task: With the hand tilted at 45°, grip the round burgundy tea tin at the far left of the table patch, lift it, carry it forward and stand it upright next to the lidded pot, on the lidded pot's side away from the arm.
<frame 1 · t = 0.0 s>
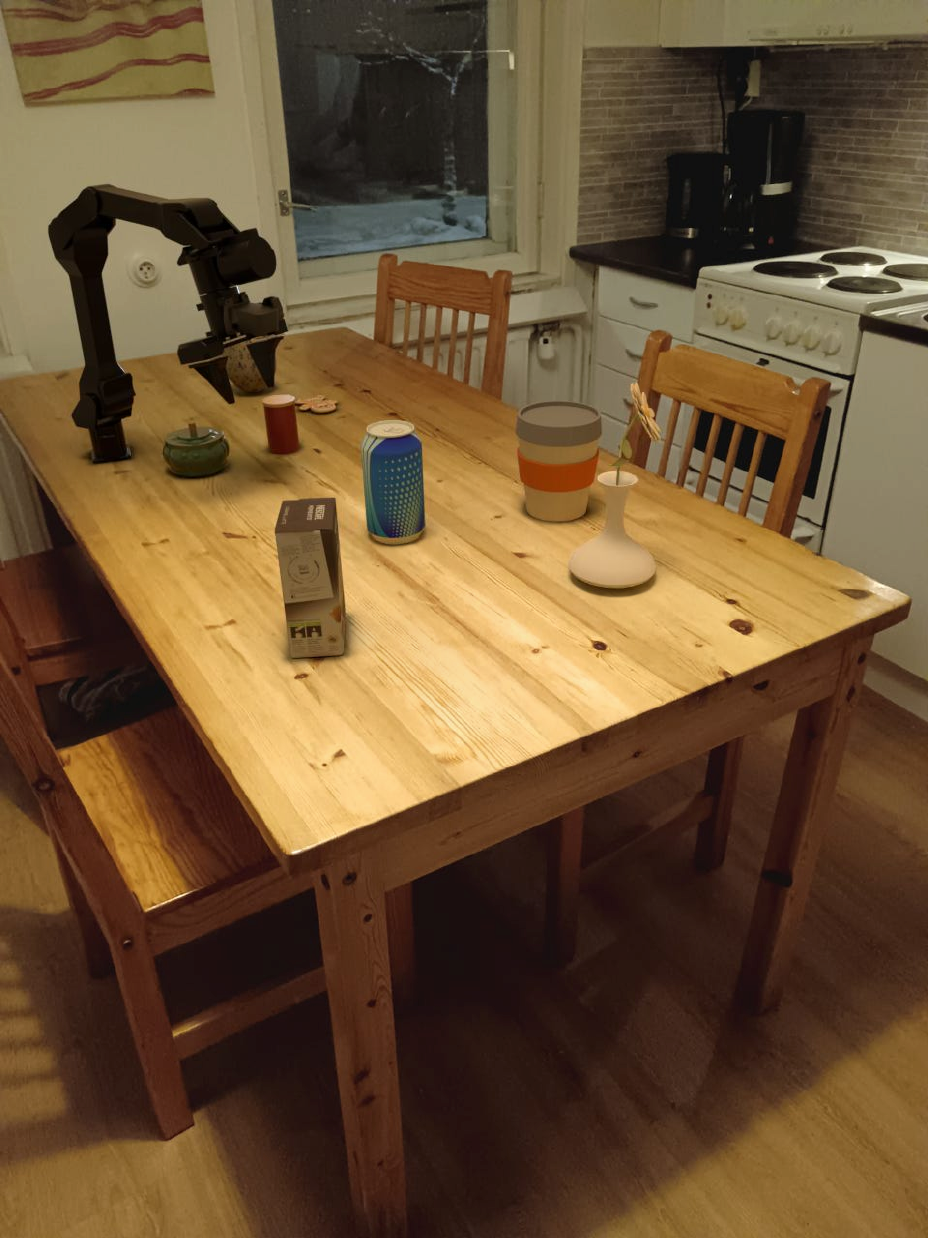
hand: (252, 395, 147), 15 cm above the table, tool pointing down, fingers open, 9 cm apart
cookie: (317, 407, 191), on the table
reusable coffee cup: (556, 510, 146), on the table
tea canister: (284, 448, 171), on the table
coffee box: (319, 638, 115), on the table
lidded pot: (199, 468, 163), on the table
beer can: (396, 535, 139), on the table
flower in vase: (613, 575, 127), on the table
decorative egg: (253, 392, 201), on the table
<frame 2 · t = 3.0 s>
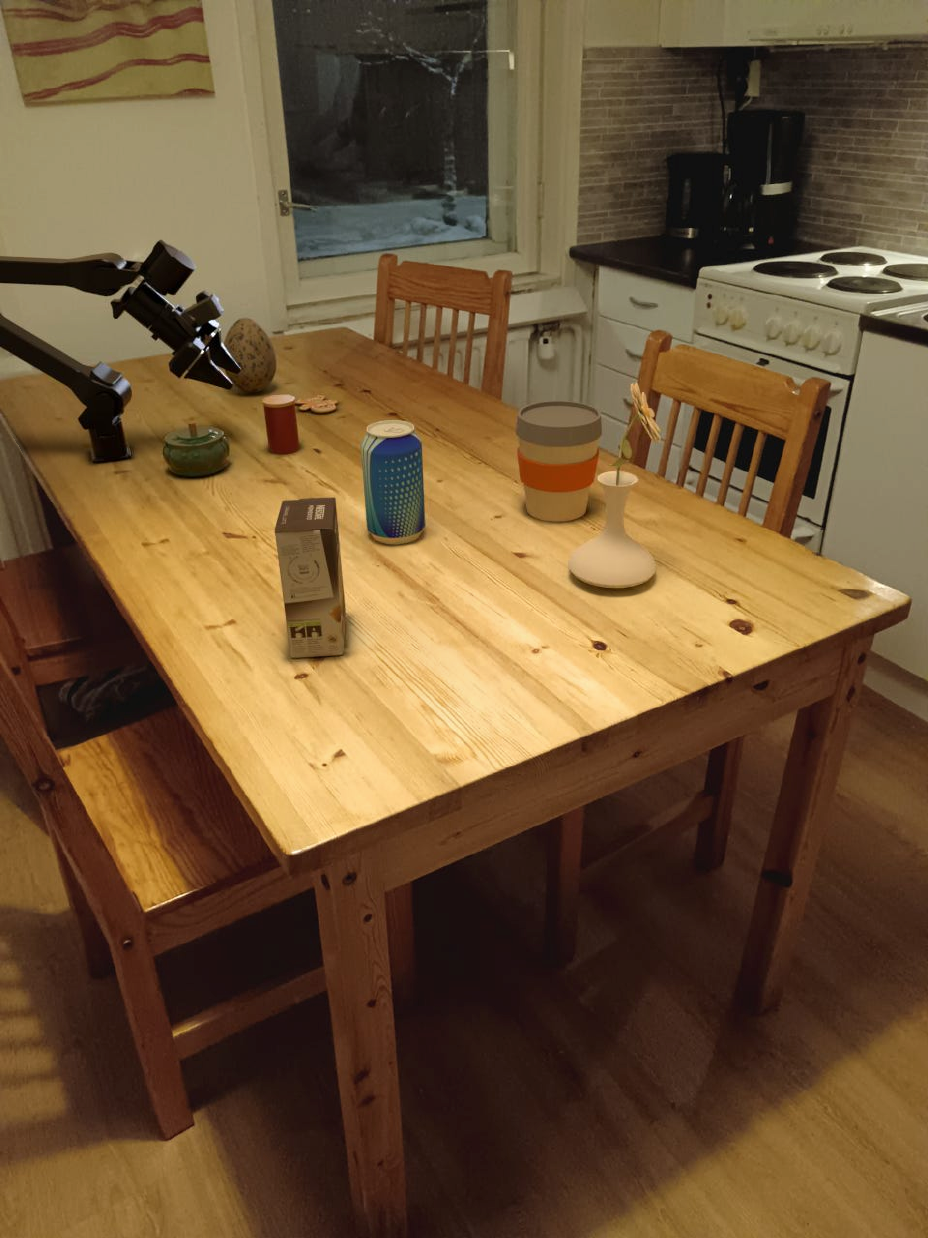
hand: (235, 379, 164), 13 cm above the table, tool tilted 45°, fingers open, 9 cm apart
nothing on the table moved.
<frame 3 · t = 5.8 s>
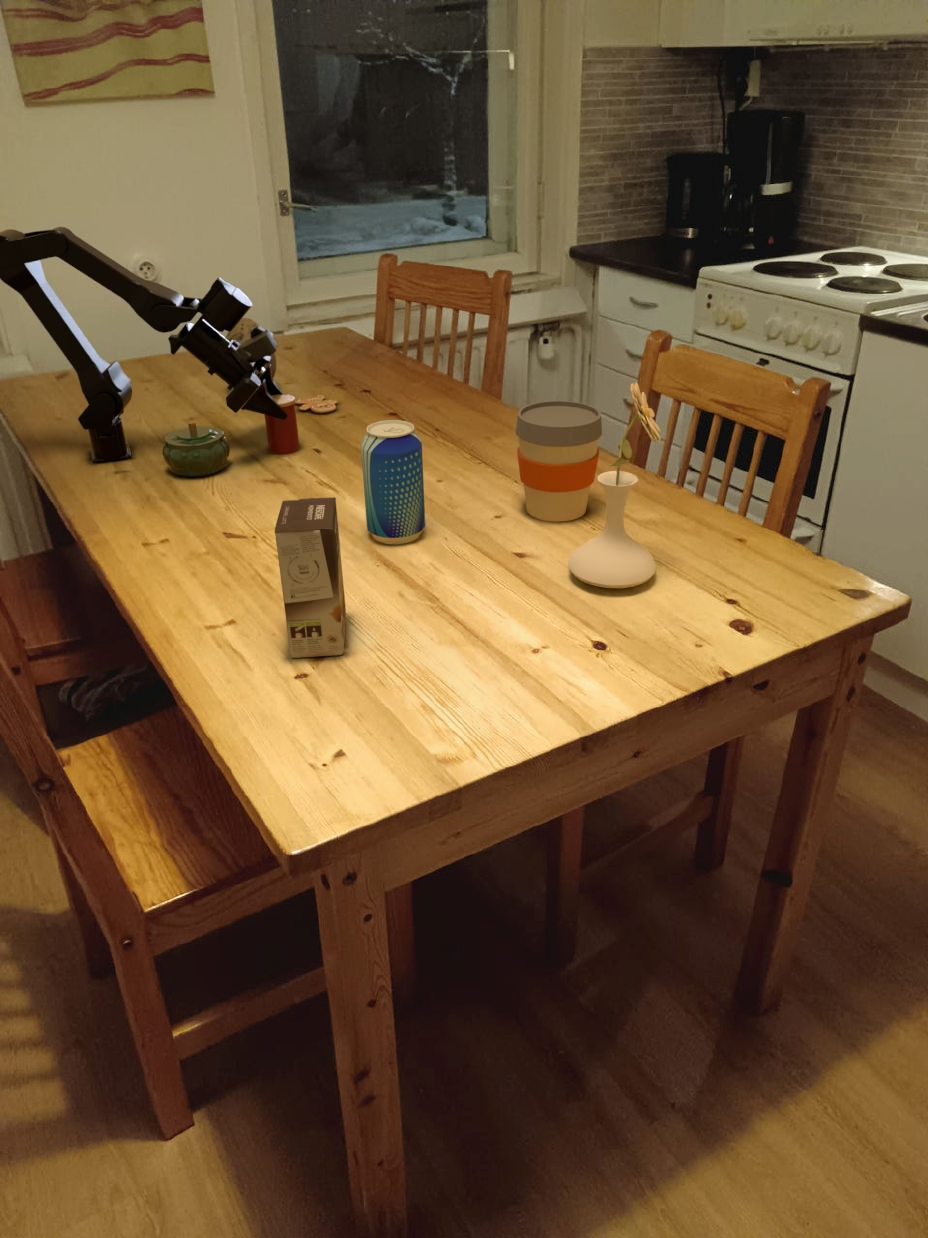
hand: (287, 412, 167), 7 cm above the table, tool tilted 45°, fingers closed on tea canister, 5 cm apart
tea canister: (284, 448, 171), on the table, touching gripper
everything else where it was.
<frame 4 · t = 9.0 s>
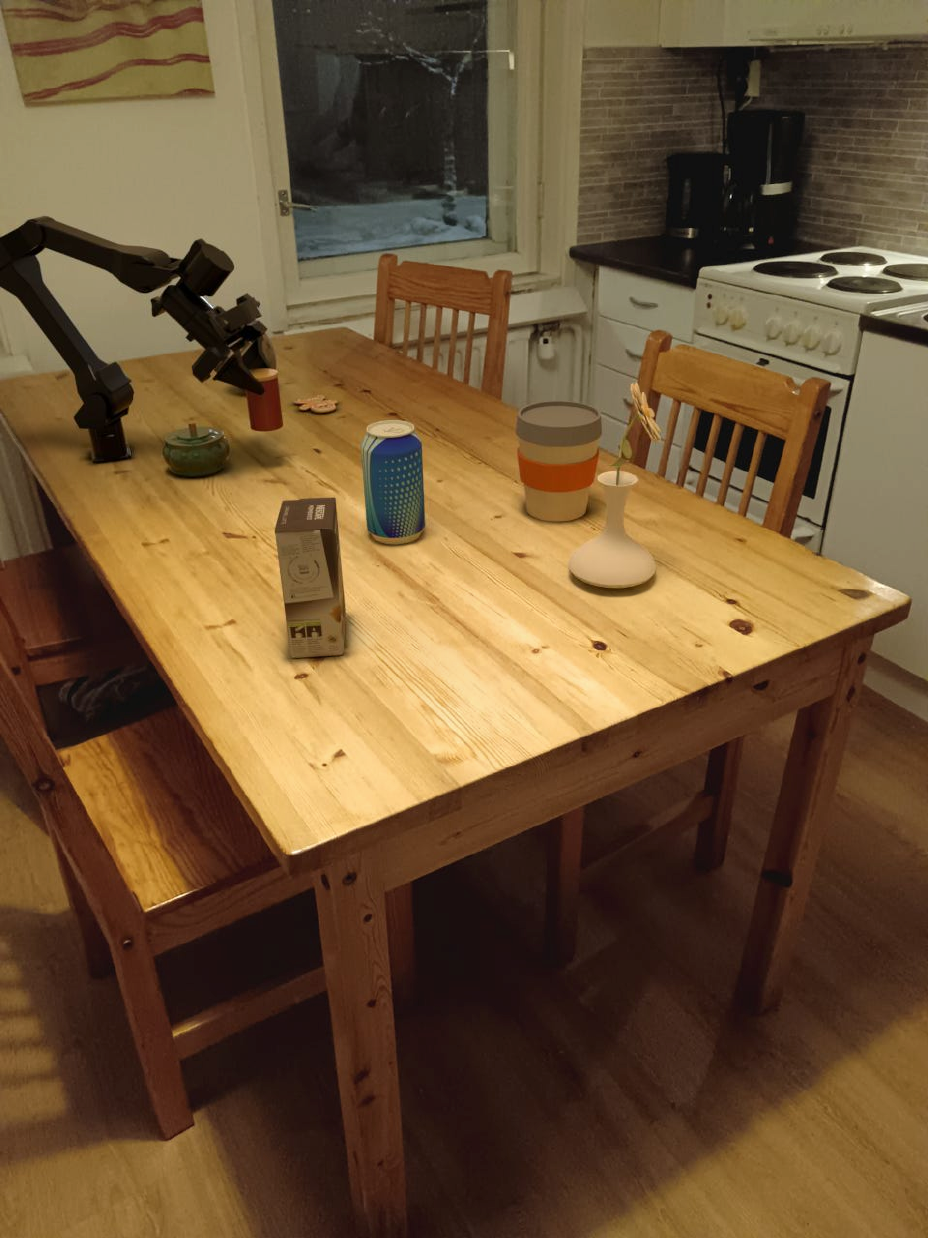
hand: (270, 387, 157), 13 cm above the table, tool tilted 45°, fingers closed on tea canister, 5 cm apart
tea canister: (267, 426, 160), point 7 cm above the table, touching gripper
everything else where it was.
when the fingers open (7 cm above the table, at t = 12.4 s): tea canister stays where it is, on the table.
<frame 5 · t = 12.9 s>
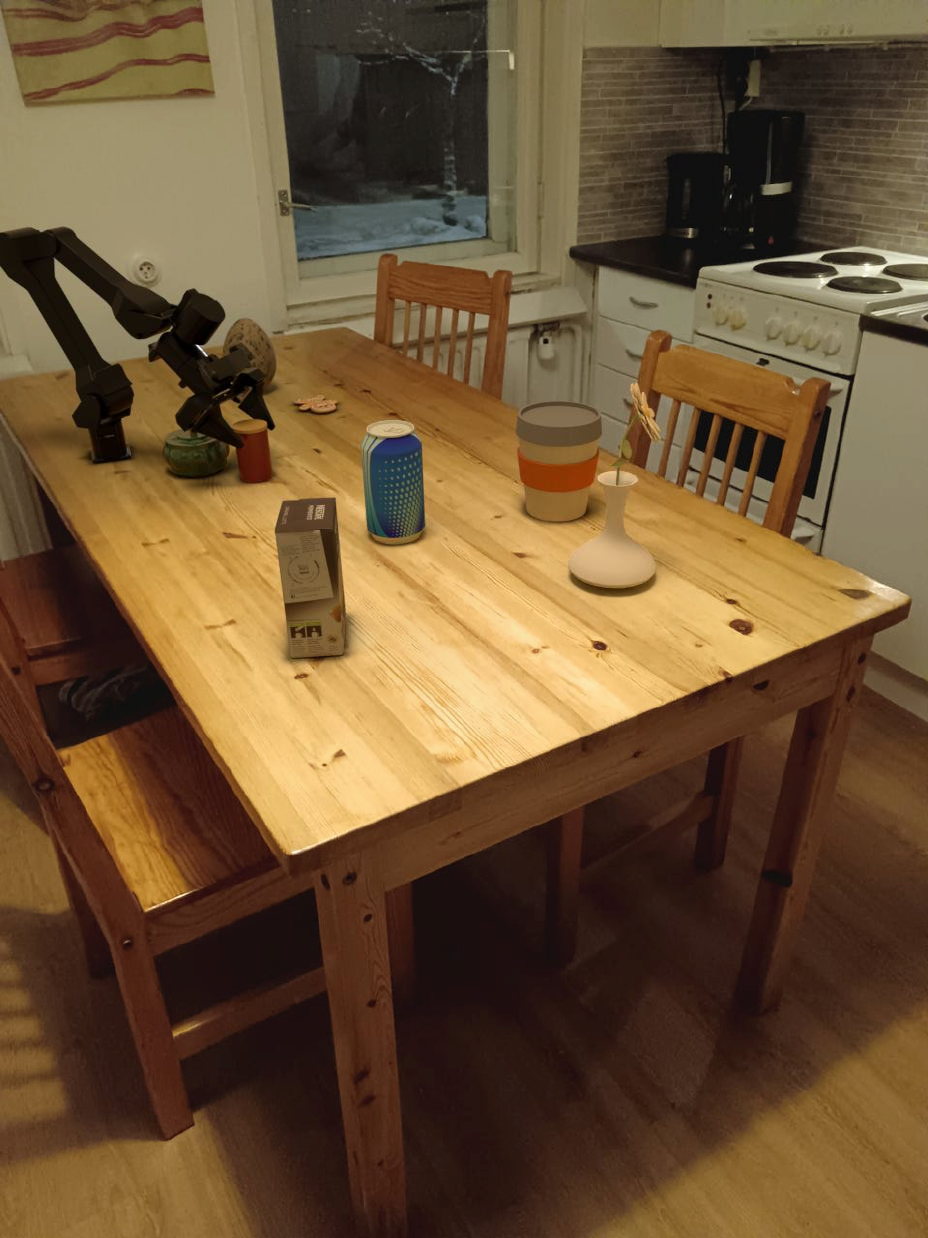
hand: (258, 437, 155), 7 cm above the table, tool tilted 45°, fingers open, 9 cm apart
tea canister: (256, 476, 159), on the table
everything else where it was.
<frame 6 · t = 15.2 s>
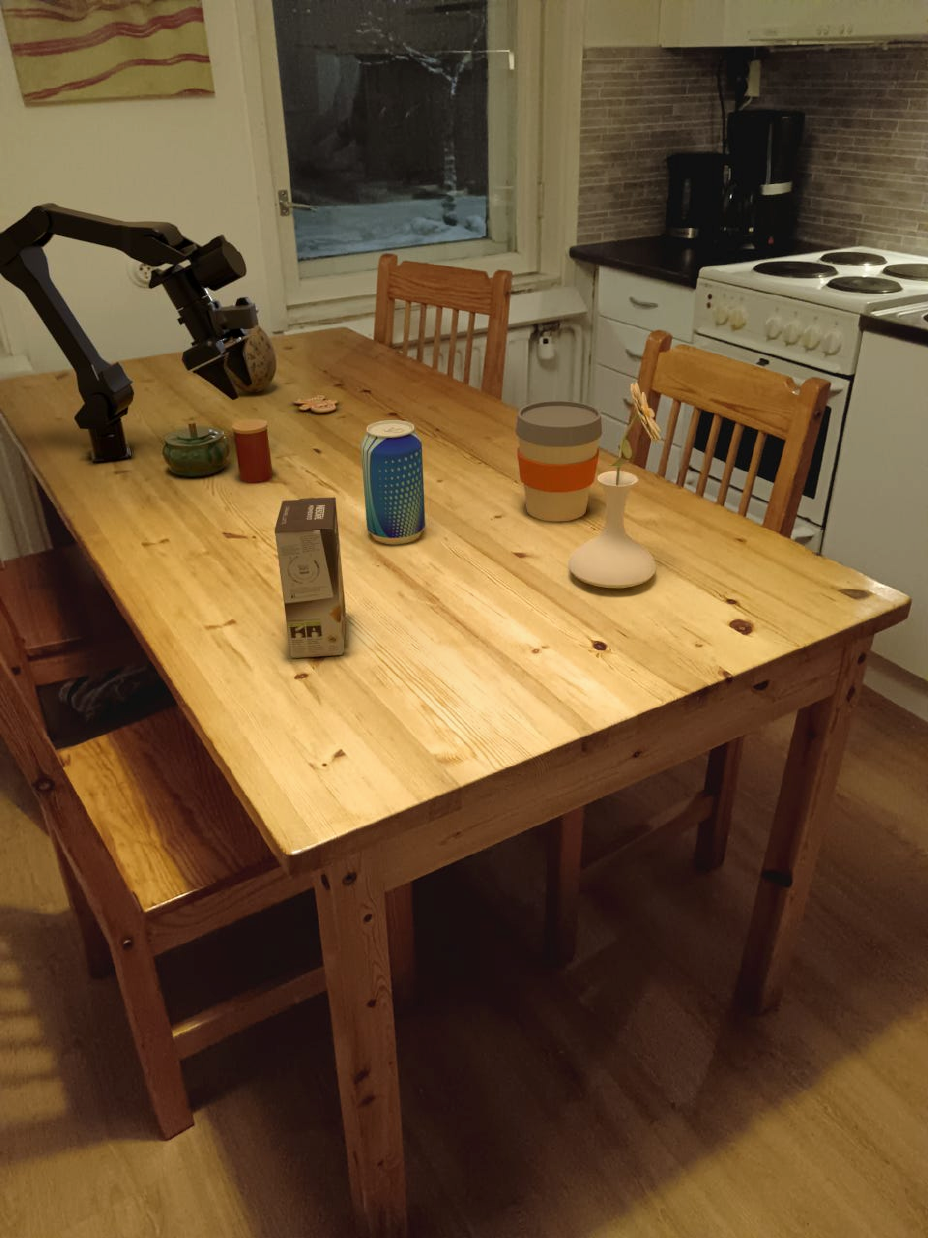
hand: (243, 391, 159), 12 cm above the table, tool tilted 25°, fingers open, 9 cm apart
nothing on the table moved.
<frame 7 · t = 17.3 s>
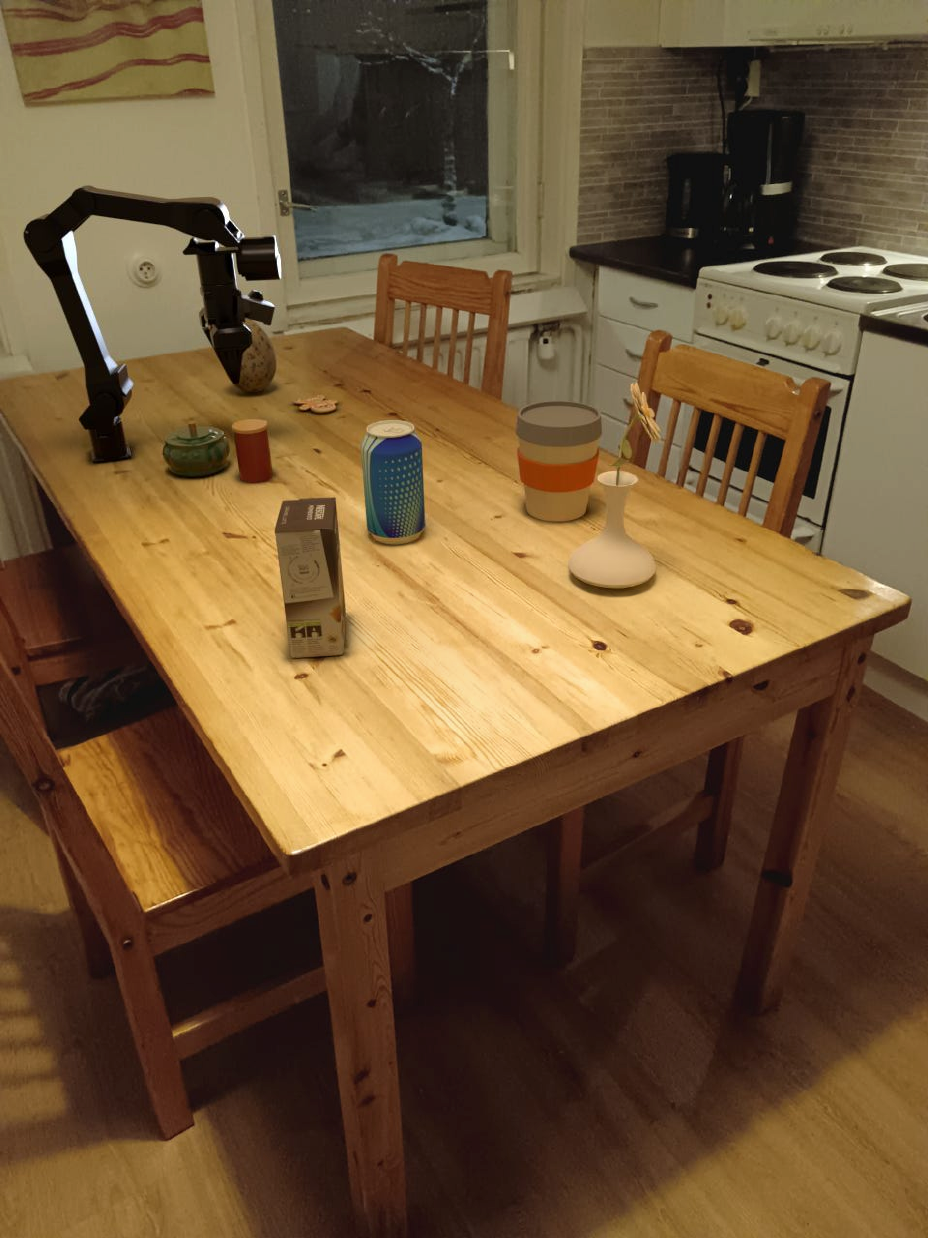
hand: (231, 376, 165), 13 cm above the table, tool pointing down, fingers open, 9 cm apart
nothing on the table moved.
at the end: tea canister 0.0 cm from the target spot on the table beside the lidded pot, on the table; tea canister tilted 0°; the gripper is holding nothing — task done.
